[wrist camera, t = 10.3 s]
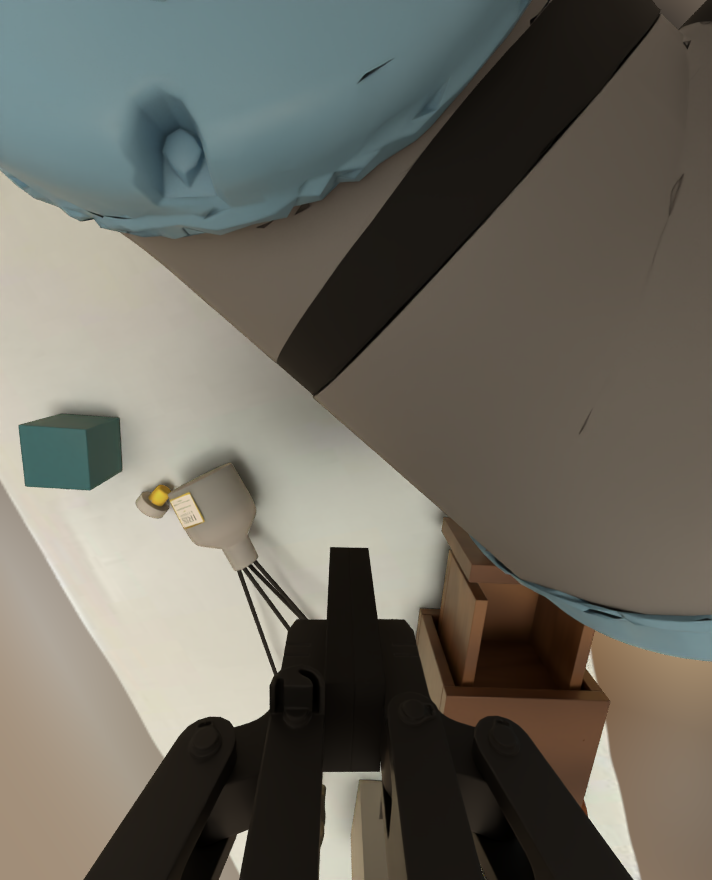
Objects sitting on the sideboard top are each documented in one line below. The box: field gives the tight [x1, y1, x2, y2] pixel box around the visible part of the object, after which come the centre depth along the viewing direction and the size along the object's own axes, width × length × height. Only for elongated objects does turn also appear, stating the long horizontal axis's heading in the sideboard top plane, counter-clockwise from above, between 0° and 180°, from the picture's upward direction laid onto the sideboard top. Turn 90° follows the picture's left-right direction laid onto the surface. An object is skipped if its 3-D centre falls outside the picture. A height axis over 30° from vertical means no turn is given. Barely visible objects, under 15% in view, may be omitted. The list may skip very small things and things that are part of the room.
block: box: [19, 414, 122, 490], centre depth 27 cm, size 4×4×4 cm
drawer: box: [437, 517, 595, 691], centre depth 28 cm, size 16×9×7 cm, turn 175°
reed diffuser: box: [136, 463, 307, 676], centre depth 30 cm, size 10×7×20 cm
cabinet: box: [416, 608, 610, 807], centre depth 31 cm, size 12×11×9 cm
